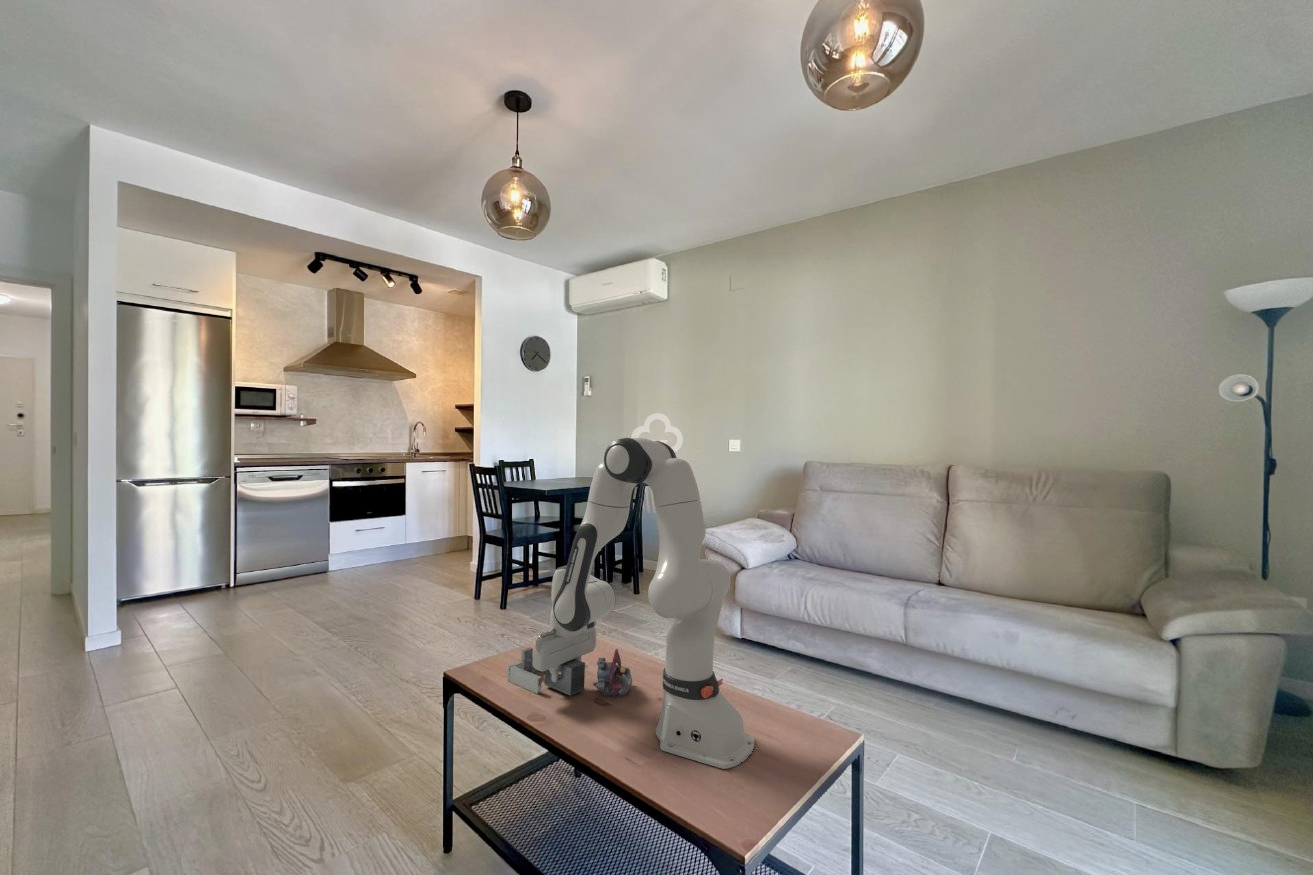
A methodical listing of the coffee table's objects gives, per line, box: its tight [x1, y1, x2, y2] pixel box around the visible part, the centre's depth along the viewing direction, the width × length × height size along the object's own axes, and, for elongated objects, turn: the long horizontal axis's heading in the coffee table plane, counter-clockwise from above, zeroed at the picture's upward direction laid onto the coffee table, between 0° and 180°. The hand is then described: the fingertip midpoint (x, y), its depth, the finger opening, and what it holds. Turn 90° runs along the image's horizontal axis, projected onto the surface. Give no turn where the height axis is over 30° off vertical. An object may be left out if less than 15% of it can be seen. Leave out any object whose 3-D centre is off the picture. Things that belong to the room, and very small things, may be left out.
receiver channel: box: [506, 646, 542, 695], centre depth 147 cm, size 13×12×7 cm
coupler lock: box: [544, 659, 586, 697], centre depth 141 cm, size 10×5×8 cm, turn 53°
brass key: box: [620, 665, 626, 672], centre depth 153 cm, size 7×3×2 cm, turn 78°
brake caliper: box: [592, 648, 633, 697], centre depth 142 cm, size 11×11×12 cm
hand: (564, 676), depth 141 cm, fingers closed on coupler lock, 5 cm apart
